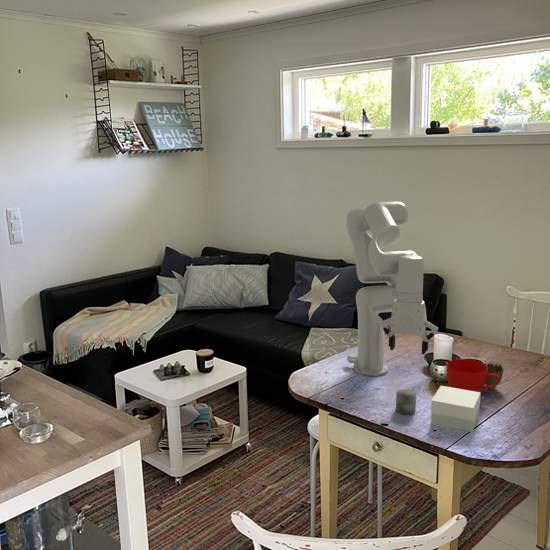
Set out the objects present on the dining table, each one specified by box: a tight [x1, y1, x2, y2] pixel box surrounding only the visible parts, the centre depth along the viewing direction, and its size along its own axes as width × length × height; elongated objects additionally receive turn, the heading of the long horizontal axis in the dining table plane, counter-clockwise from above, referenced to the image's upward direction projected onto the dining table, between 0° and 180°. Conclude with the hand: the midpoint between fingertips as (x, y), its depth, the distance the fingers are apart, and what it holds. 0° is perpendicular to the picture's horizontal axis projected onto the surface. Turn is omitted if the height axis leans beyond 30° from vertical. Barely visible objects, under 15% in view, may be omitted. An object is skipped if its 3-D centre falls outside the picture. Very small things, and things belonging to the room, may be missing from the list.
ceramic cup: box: [446, 358, 501, 393], centre depth 197 cm, size 13×17×10 cm
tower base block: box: [430, 407, 480, 433], centre depth 181 cm, size 12×12×4 cm
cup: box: [484, 362, 505, 391], centre depth 202 cm, size 8×7×8 cm
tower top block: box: [430, 385, 482, 421], centre depth 180 cm, size 12×12×4 cm
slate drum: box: [395, 388, 417, 416], centre depth 187 cm, size 6×6×6 cm
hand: (408, 350), depth 183 cm, fingers open, 9 cm apart
